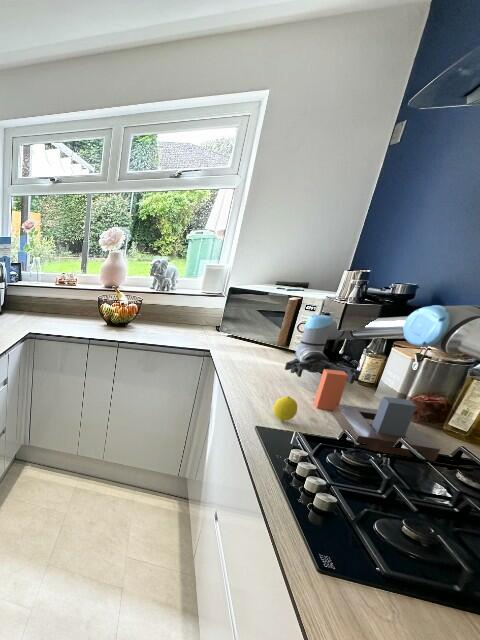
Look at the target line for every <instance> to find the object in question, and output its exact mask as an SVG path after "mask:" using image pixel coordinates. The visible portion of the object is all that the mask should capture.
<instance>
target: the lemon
mask: <svg viewBox="0 0 480 640" xmlns="http://www.w3.org/2000/svg"><path fill="white" fill-rule="evenodd" d="M272 408H273V409H272V412H273V415H274V416H275V418H277V419H278V420H279V421H280V422H285V421H289V420H292V419H293V418H294V417H295V416H296V415H297V413H298V403H297V401H296V400H295V399H294V398H292V397H291V396H289V395H287V396H283V397H280V398H278V399H277V400H276V401H275V403H274V405H273V407H272Z"/></svg>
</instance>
